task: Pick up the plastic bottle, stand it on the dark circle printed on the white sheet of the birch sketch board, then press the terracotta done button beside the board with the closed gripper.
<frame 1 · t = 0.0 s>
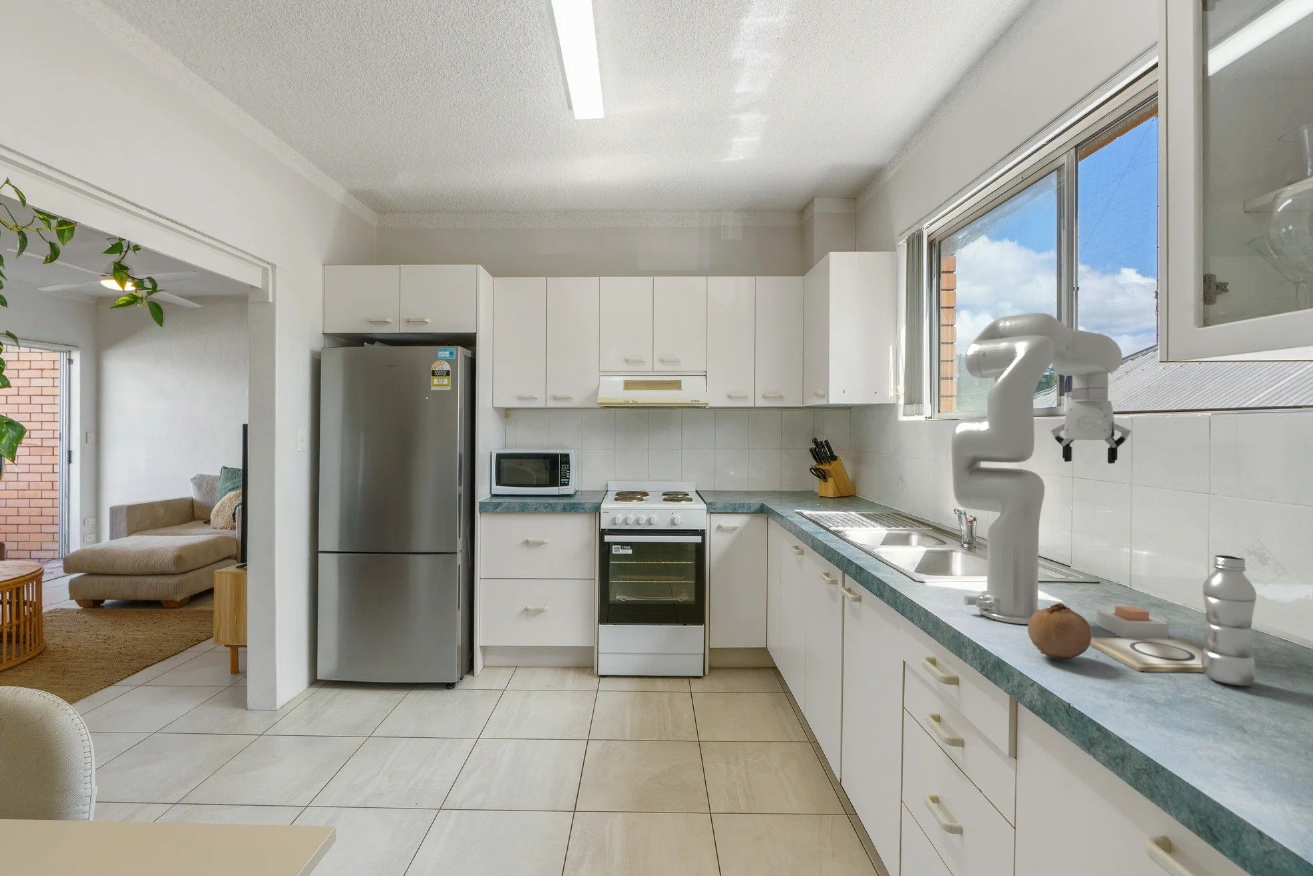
hand: (1089, 462, 161), 31 cm above the countertop, tool pointing down, fingers open, 9 cm apart
button housing: (1131, 632, 124), on the countertop
plastic bottle: (1227, 683, 100), on the countertop
done button: (1131, 616, 124), point 3 cm above the countertop, slide at 0.0 cm
onion: (1058, 660, 109), on the countertop
sketch board: (1161, 656, 111), on the countertop
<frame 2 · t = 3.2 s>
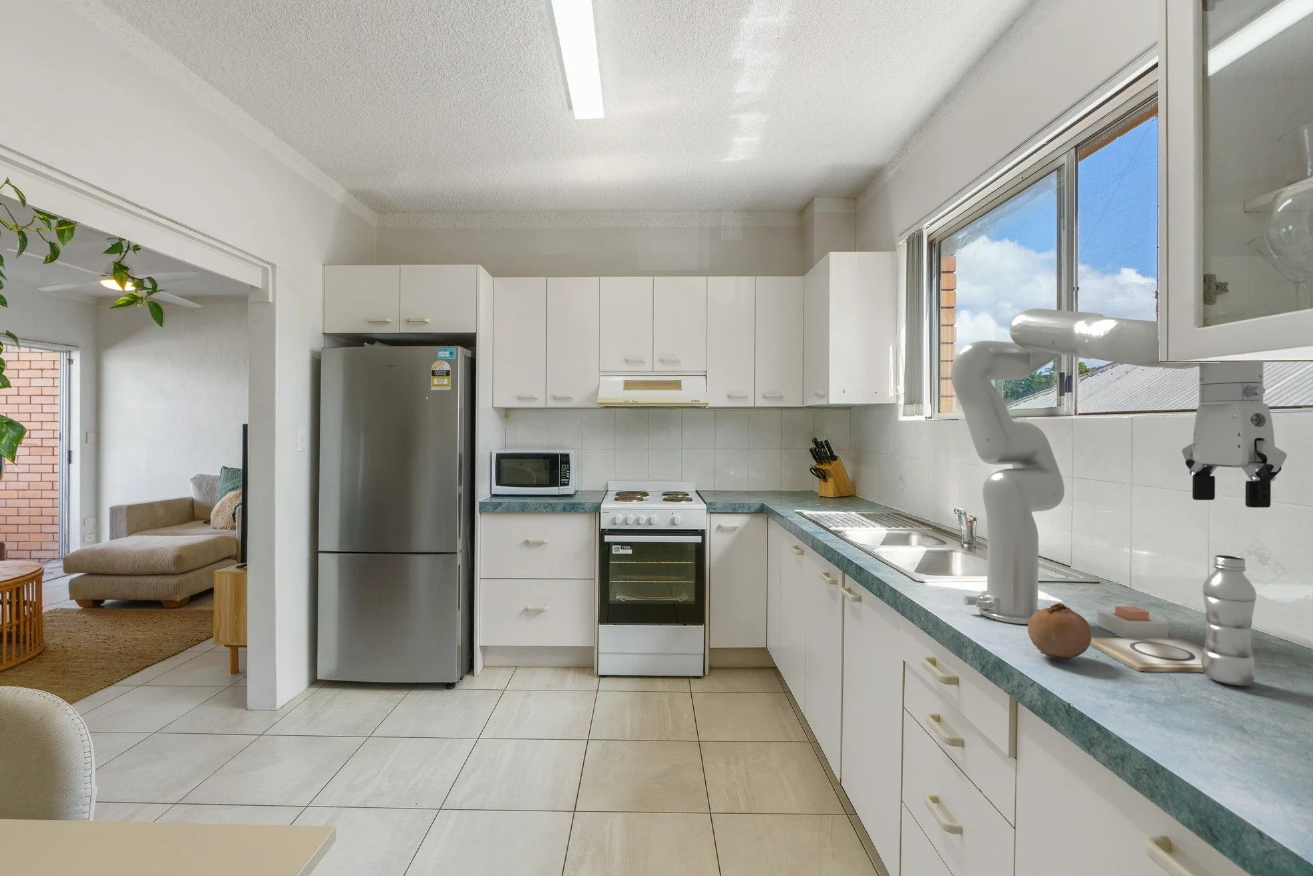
hand: (1229, 503, 100), 29 cm above the countertop, tool pointing down, fingers open, 9 cm apart
nothing on the countertop moved.
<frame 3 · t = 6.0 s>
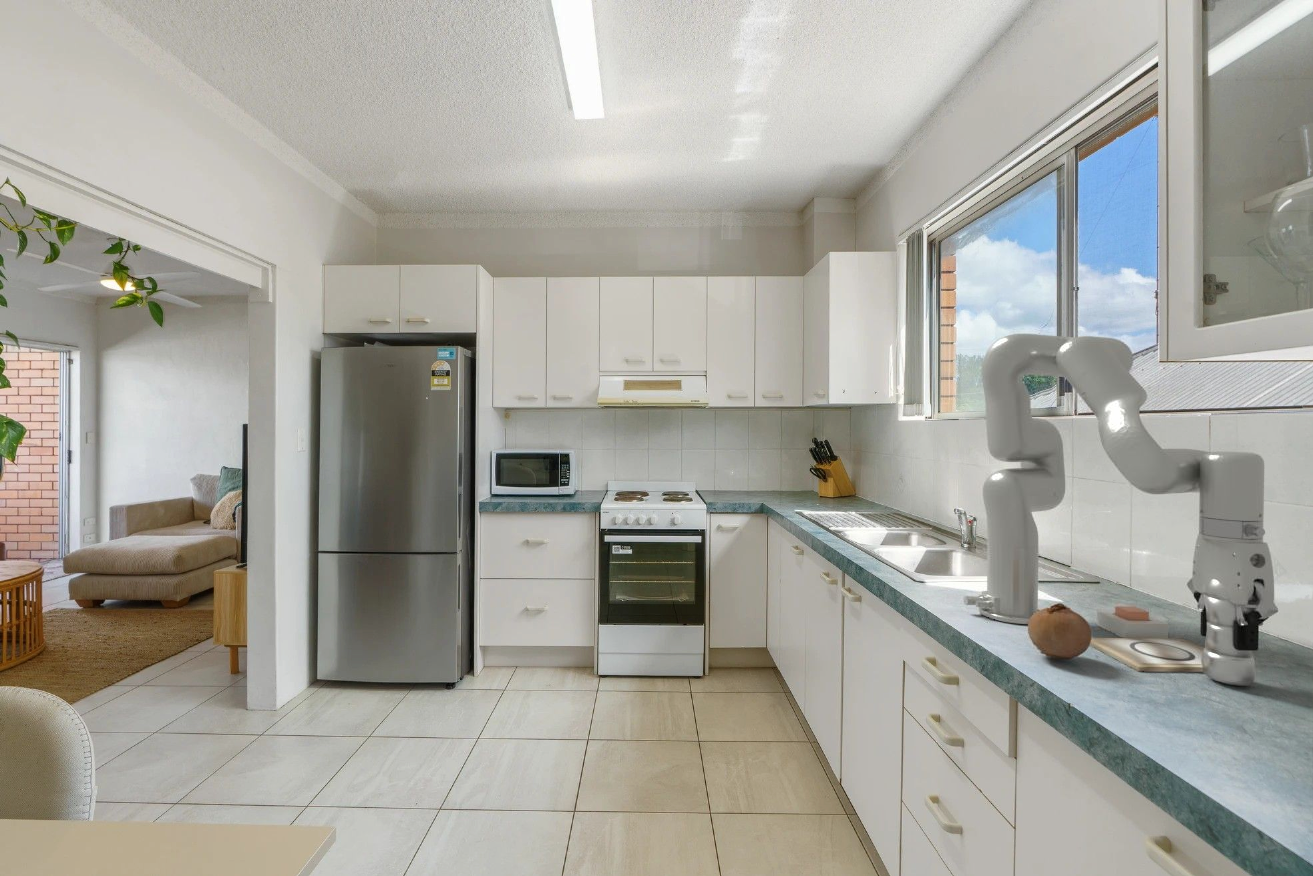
hand: (1228, 641, 100), 7 cm above the countertop, tool pointing down, fingers closed on plastic bottle, 5 cm apart
plastic bottle: (1227, 683, 100), on the countertop, touching gripper
everything else where it was.
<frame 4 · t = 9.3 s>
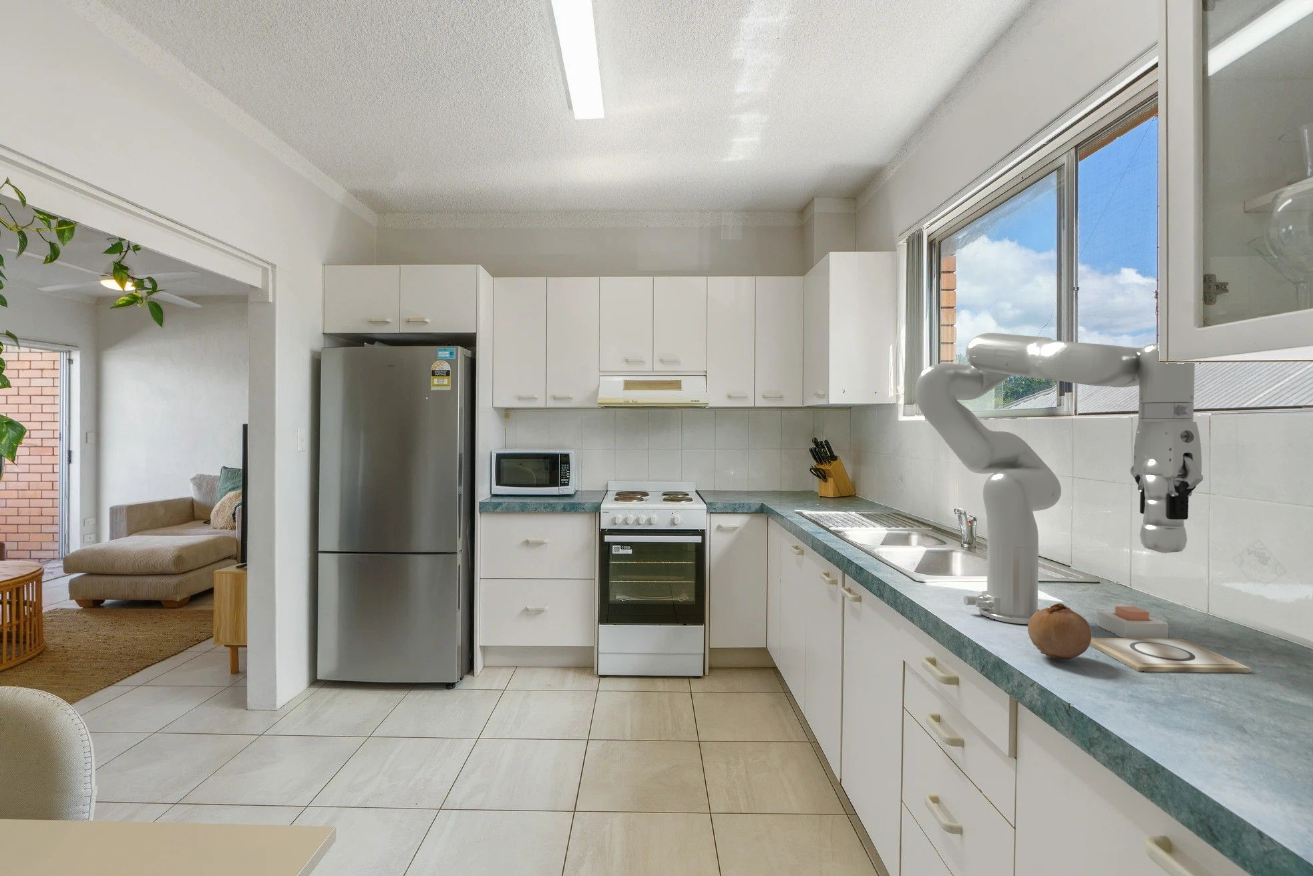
hand: (1163, 515, 110), 25 cm above the countertop, tool pointing down, fingers closed on plastic bottle, 5 cm apart
plastic bottle: (1162, 553, 110), point 18 cm above the countertop, touching gripper
everything else where it was.
when the fingers open (9 cm above the countertop, at t = 12.7 s): plastic bottle drops 1 cm, resting on sketch board.
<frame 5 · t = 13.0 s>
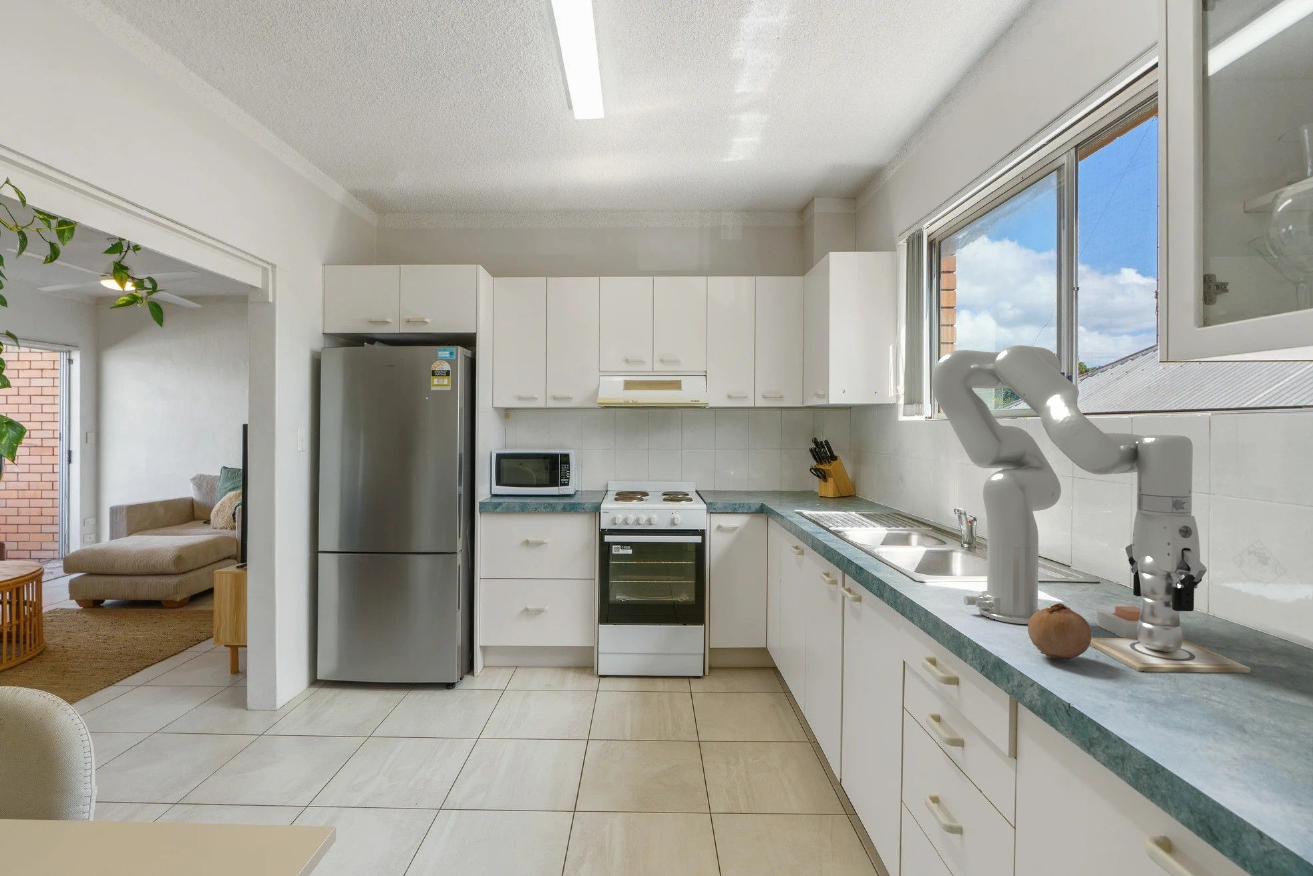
hand: (1162, 602, 111), 10 cm above the countertop, tool pointing down, fingers open, 8 cm apart
plastic bottle: (1158, 650, 111), point 1 cm above the countertop, touching sketch board
everything else where it was.
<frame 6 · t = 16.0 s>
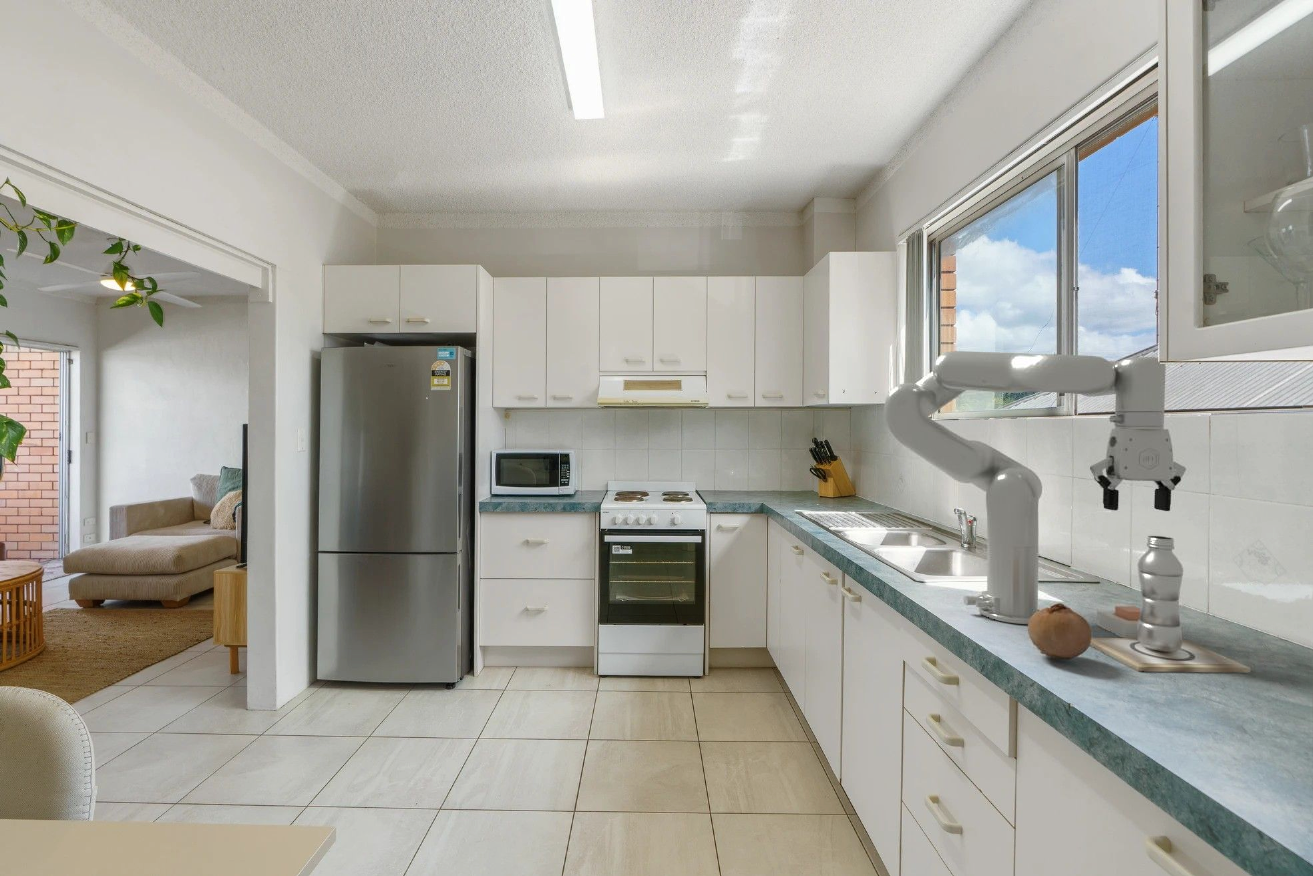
hand: (1136, 509, 121), 25 cm above the countertop, tool pointing down, fingers open, 9 cm apart
nothing on the countertop moved.
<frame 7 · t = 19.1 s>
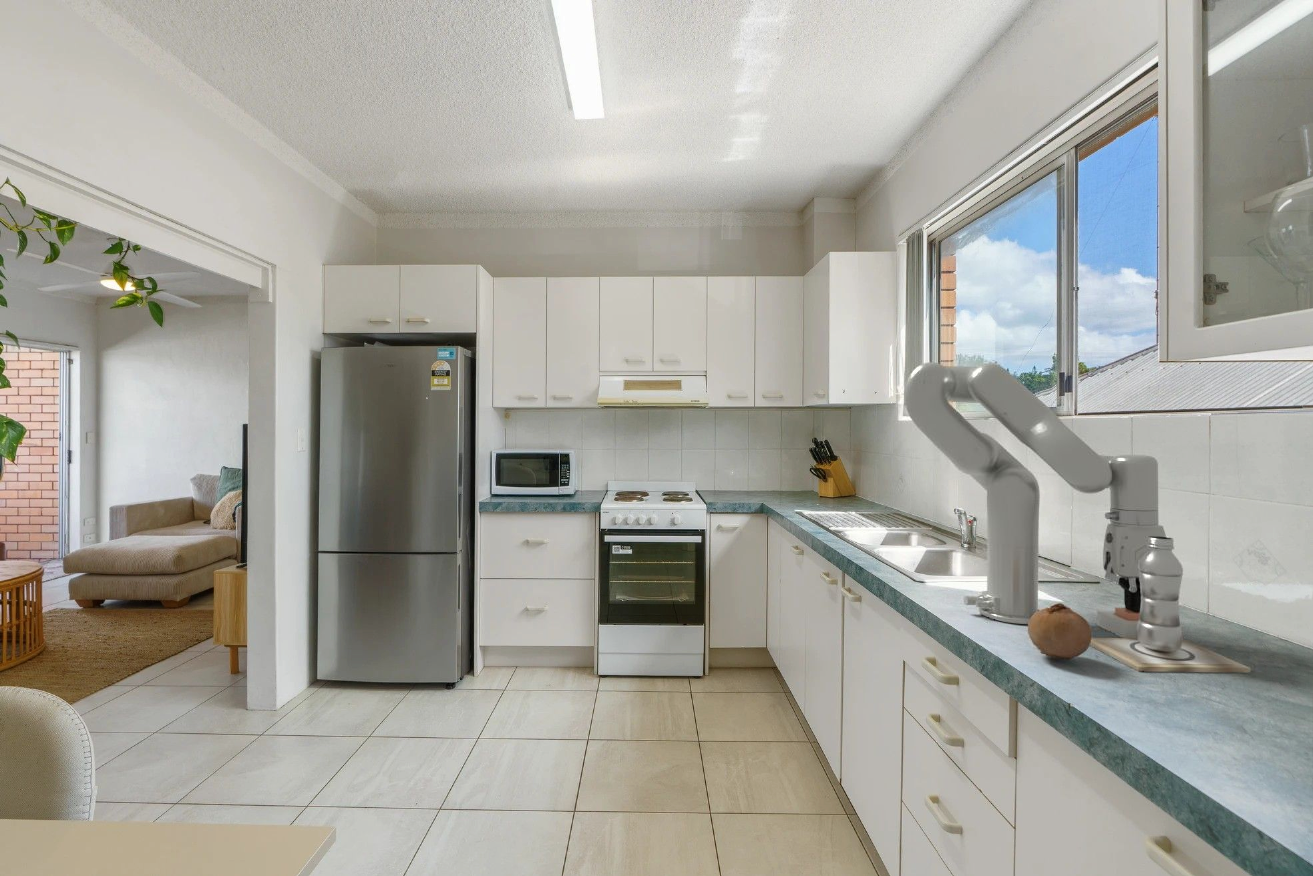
hand: (1134, 610, 123), 4 cm above the countertop, tool pointing down, fingers closed
done button: (1131, 617, 124), point 3 cm above the countertop, slide at 0.3 cm, touching gripper
everything else where it was.
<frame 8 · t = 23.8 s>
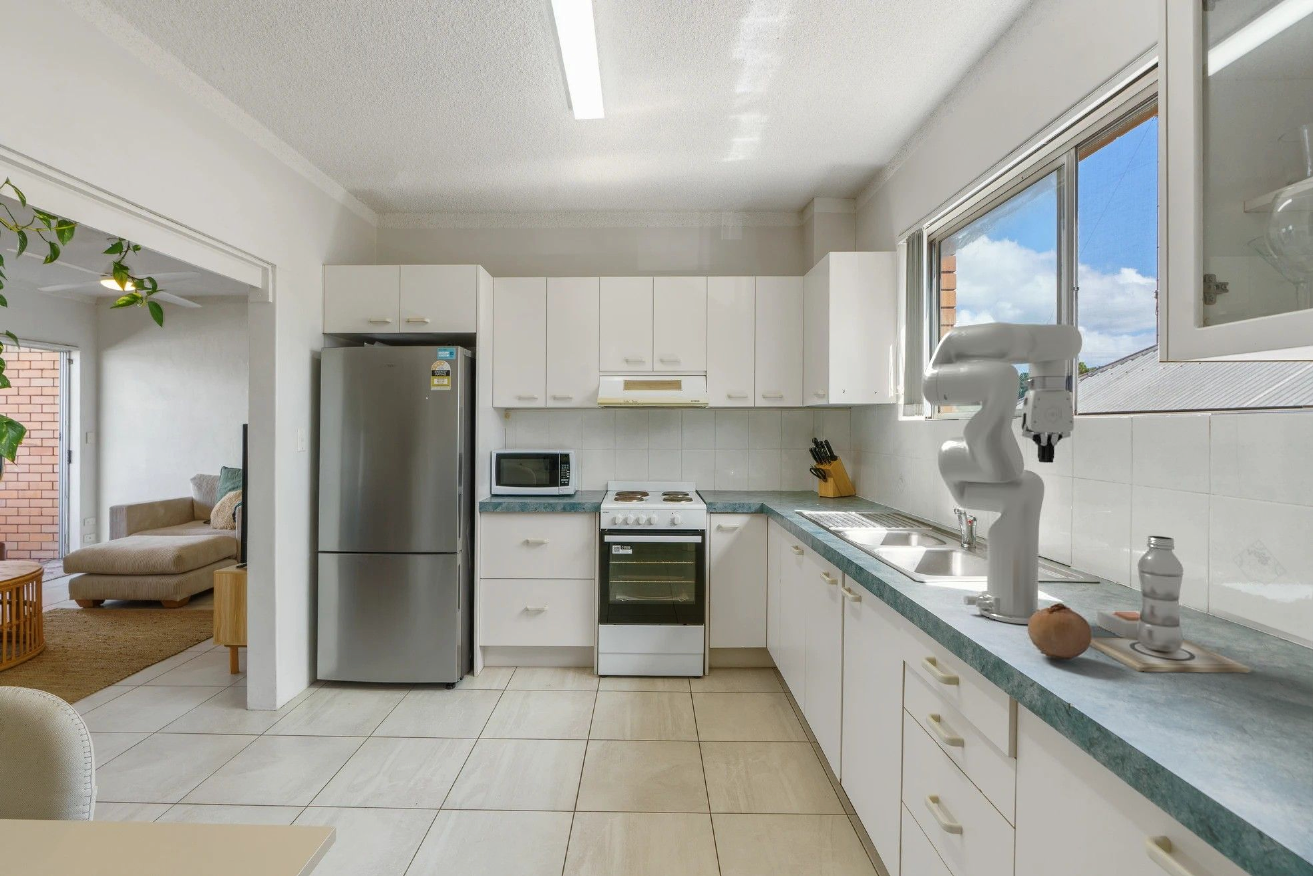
hand: (1045, 462, 149), 32 cm above the countertop, tool pointing down, fingers closed
done button: (1131, 621, 124), point 2 cm above the countertop, slide at 1.1 cm
everything else where it was.
at the end: plastic bottle inside the target area on the sketch board (0.4 cm from its centre), point 0.9 cm above the sketch board's base; plastic bottle tilted 0°; done button slide at 1.1 cm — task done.
